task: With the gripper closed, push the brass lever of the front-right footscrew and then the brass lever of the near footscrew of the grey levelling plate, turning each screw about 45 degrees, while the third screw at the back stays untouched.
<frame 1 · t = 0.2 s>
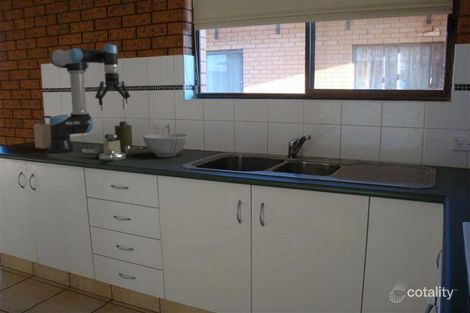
hand: (113, 110, 244), 28 cm above the worktop, tool pointing down, fingers open, 13 cm apart
soap dispenser: (46, 147, 295), on the worktop
decorative bowl: (166, 155, 256), on the worktop
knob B: (91, 151, 251), point 3 cm above the worktop, hinge at 0.0°
canister: (124, 154, 264), on the worktop
knob A: (111, 156, 233), point 3 cm above the worktop, hinge at 0.0°
knob C: (134, 149, 257), point 3 cm above the worktop, hinge at 0.0°
tribrach plate: (112, 158, 248), on the worktop
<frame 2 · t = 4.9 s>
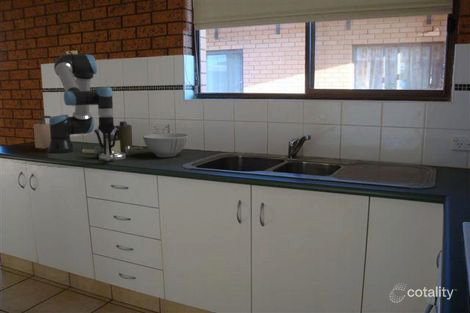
hand: (108, 159, 231), 2 cm above the worktop, tool pointing down, fingers closed
knob A: (111, 156, 234), point 3 cm above the worktop, hinge at 1.3°, touching gripper
everything else where it was.
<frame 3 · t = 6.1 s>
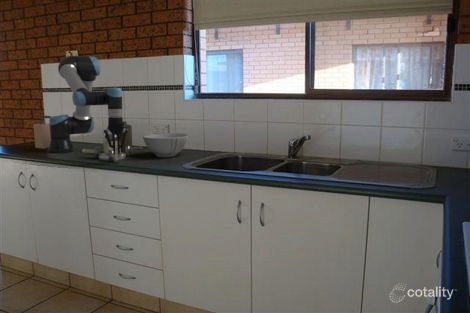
hand: (116, 160, 232), 2 cm above the worktop, tool pointing down, fingers closed
knob A: (116, 156, 235), point 3 cm above the worktop, hinge at 38.7°, touching gripper
everything else where it was.
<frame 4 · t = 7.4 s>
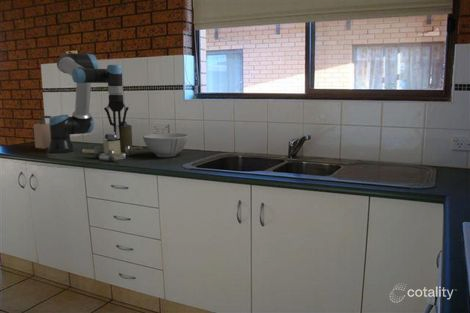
hand: (118, 138, 230), 14 cm above the worktop, tool pointing down, fingers closed
knob A: (117, 155, 236), point 3 cm above the worktop, hinge at 47.9°
everything else where it was.
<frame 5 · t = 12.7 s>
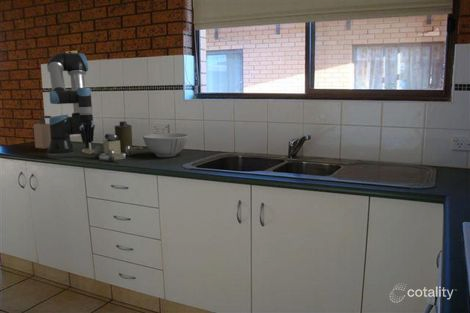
hand: (88, 153, 253), 2 cm above the worktop, tool pointing down, fingers closed
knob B: (90, 151, 251), point 3 cm above the worktop, hinge at 1.5°, touching gripper
everything else where it was.
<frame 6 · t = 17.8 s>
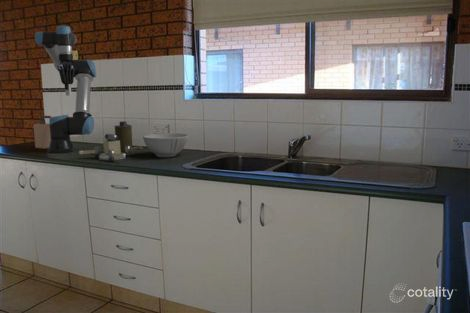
hand: (68, 95, 247), 36 cm above the worktop, tool pointing down, fingers closed
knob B: (89, 152, 248), point 3 cm above the worktop, hinge at 43.0°
everything else where it was.
at the end: knob A at +48° (first picture: +0°); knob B at +43° (first picture: +0°); knob C at +0° (first picture: +0°) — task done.
